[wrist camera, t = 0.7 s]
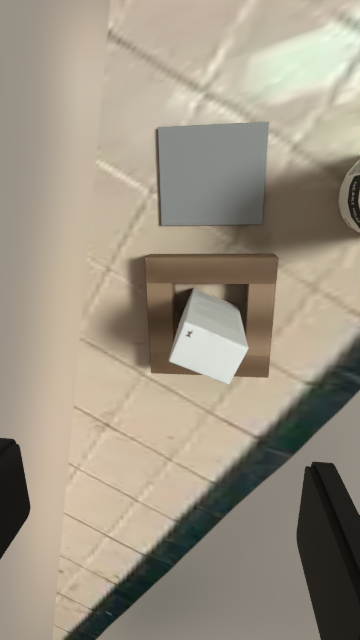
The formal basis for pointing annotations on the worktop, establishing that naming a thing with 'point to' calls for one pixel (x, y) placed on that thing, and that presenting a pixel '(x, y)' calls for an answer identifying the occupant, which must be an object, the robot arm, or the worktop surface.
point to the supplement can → (351, 197)
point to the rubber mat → (212, 173)
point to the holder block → (211, 270)
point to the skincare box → (210, 337)
